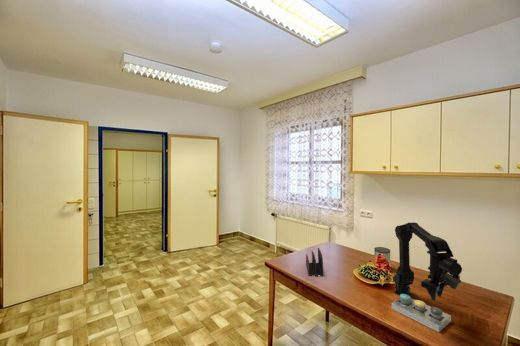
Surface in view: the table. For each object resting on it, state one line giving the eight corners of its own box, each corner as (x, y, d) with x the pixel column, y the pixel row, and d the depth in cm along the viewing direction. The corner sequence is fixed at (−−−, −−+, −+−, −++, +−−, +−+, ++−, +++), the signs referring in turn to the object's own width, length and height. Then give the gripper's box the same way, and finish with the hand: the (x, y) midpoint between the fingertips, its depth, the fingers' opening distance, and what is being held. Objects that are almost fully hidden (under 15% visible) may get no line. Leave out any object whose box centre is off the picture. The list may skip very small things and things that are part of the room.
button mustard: (412, 310, 119) (412, 301, 119) (417, 307, 122) (417, 299, 122) (422, 314, 116) (422, 306, 115) (427, 311, 118) (427, 303, 118)
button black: (428, 317, 113) (428, 308, 113) (432, 314, 116) (432, 305, 116) (439, 322, 110) (439, 313, 109) (444, 319, 112) (444, 310, 112)
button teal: (398, 303, 125) (398, 295, 125) (402, 300, 128) (402, 292, 128) (407, 307, 121) (407, 299, 121) (412, 304, 124) (412, 296, 124)
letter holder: (319, 264, 180) (319, 246, 180) (323, 276, 160) (323, 256, 160) (305, 264, 181) (305, 245, 181) (308, 276, 161) (308, 255, 161)
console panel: (391, 308, 124) (391, 302, 124) (404, 300, 131) (404, 295, 131) (438, 332, 106) (438, 325, 106) (450, 321, 113) (450, 315, 113)
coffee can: (371, 265, 177) (371, 247, 176) (385, 265, 177) (385, 246, 176) (378, 272, 166) (379, 252, 166) (393, 271, 167) (393, 251, 166)
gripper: (449, 278, 100) (449, 314, 101) (466, 267, 110) (465, 300, 111) (420, 268, 110) (419, 301, 110) (438, 259, 120) (437, 290, 120)
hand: (436, 298), depth 113 cm, fingers open, 6 cm apart
